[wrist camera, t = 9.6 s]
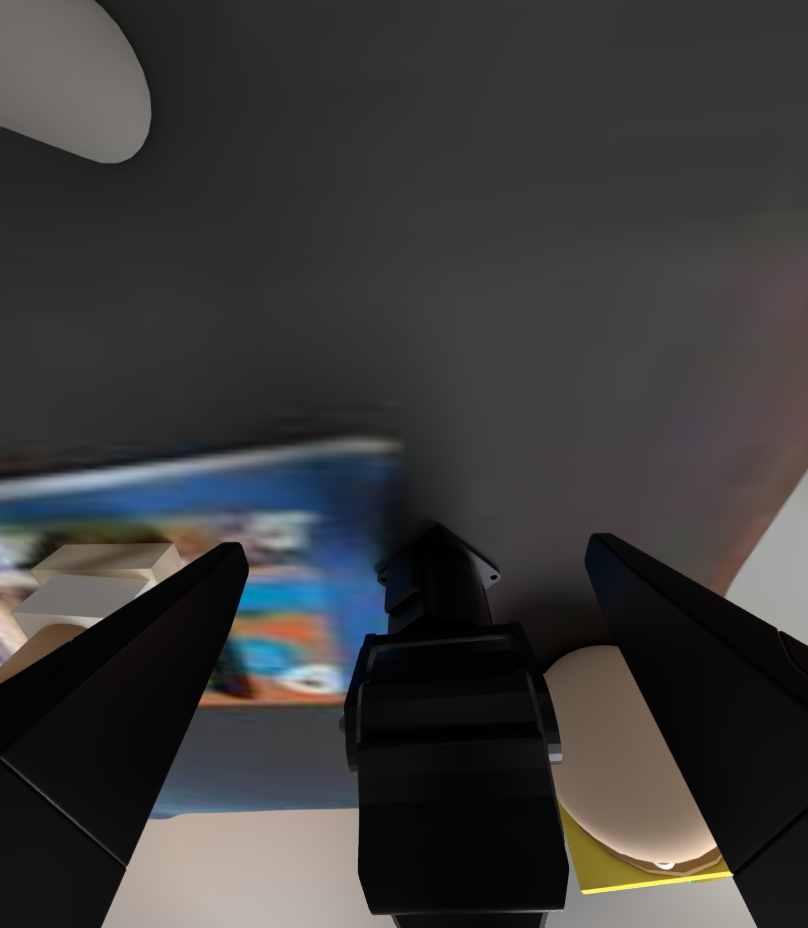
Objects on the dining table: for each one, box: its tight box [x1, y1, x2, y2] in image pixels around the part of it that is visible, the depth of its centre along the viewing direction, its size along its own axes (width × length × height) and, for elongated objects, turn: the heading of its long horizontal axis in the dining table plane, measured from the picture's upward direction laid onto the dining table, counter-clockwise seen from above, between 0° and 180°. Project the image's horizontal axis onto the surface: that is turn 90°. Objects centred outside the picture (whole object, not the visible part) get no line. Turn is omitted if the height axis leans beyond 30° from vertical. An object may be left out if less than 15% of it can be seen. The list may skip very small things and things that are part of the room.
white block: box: [11, 574, 153, 640], centre depth 23 cm, size 6×6×3 cm
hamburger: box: [543, 645, 733, 894], centre depth 25 cm, size 12×8×12 cm
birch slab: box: [30, 543, 184, 587], centre depth 26 cm, size 8×8×3 cm
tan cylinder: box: [0, 624, 87, 683], centre depth 20 cm, size 5×5×5 cm
